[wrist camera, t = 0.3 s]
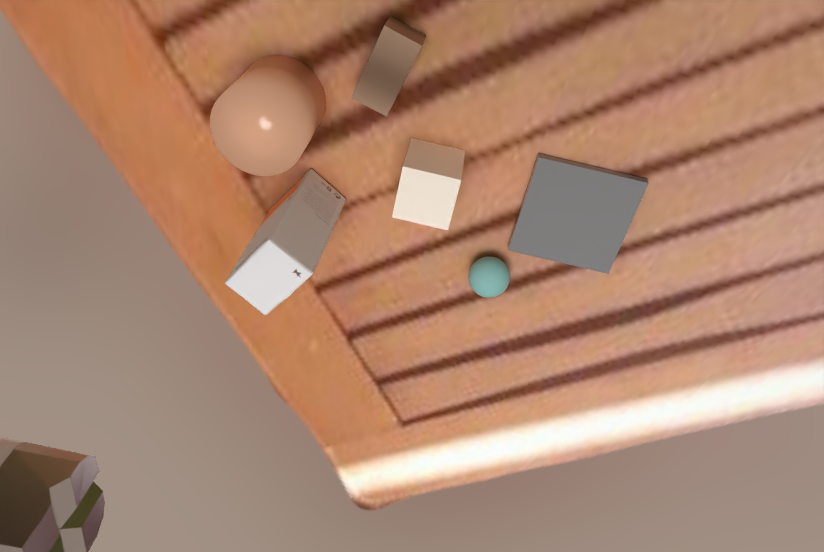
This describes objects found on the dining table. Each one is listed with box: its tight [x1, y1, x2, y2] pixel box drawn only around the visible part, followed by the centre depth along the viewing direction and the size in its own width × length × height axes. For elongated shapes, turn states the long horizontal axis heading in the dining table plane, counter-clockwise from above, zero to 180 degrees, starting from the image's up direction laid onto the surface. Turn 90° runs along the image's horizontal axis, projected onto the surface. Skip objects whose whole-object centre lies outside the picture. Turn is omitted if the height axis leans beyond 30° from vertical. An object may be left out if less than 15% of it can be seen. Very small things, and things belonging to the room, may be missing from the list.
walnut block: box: [351, 16, 426, 116], centre depth 52 cm, size 6×3×3 cm, turn 154°
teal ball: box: [469, 256, 510, 297], centre depth 61 cm, size 4×4×4 cm
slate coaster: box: [508, 153, 648, 274], centre depth 58 cm, size 9×9×1 cm
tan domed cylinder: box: [210, 55, 326, 176], centre depth 53 cm, size 7×7×7 cm
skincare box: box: [225, 169, 346, 315], centre depth 56 cm, size 6×4×12 cm
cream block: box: [392, 138, 465, 230], centre depth 56 cm, size 4×4×6 cm
